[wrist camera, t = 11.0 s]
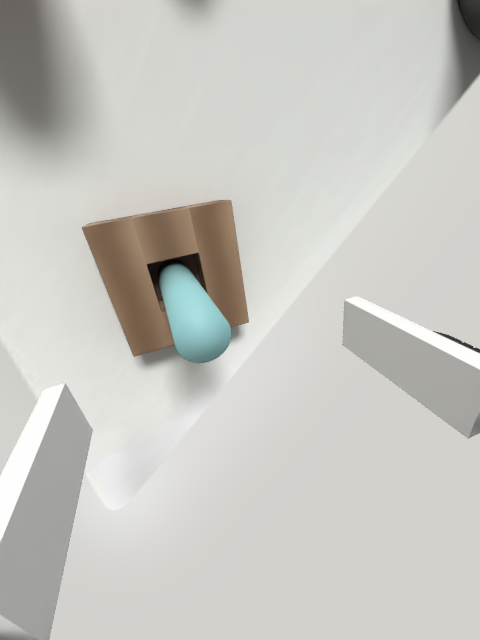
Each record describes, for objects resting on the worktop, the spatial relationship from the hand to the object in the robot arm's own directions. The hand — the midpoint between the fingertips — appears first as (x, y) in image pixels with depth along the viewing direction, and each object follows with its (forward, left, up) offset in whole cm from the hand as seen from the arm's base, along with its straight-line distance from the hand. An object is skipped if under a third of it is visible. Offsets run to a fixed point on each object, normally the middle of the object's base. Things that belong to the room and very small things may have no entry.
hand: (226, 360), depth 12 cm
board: (0, 0, -17) cm, 17 cm away
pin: (0, 0, -17) cm, 17 cm away
